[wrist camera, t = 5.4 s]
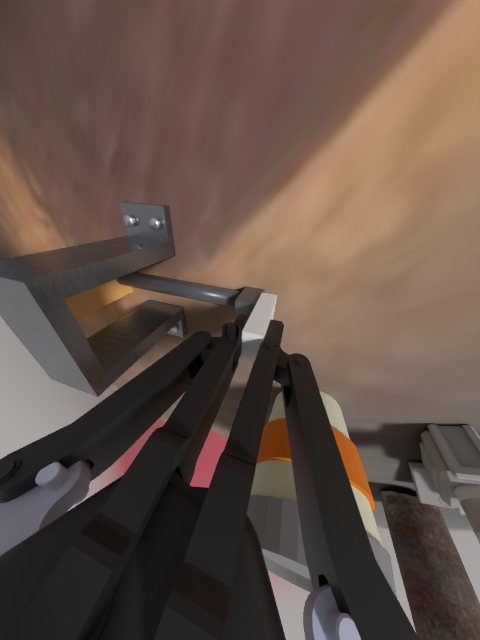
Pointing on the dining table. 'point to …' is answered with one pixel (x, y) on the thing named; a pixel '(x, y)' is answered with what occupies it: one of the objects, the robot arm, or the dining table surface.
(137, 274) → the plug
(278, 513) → the reusable coffee cup
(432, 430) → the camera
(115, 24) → the dining table surface
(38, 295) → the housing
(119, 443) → the robot arm
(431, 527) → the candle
